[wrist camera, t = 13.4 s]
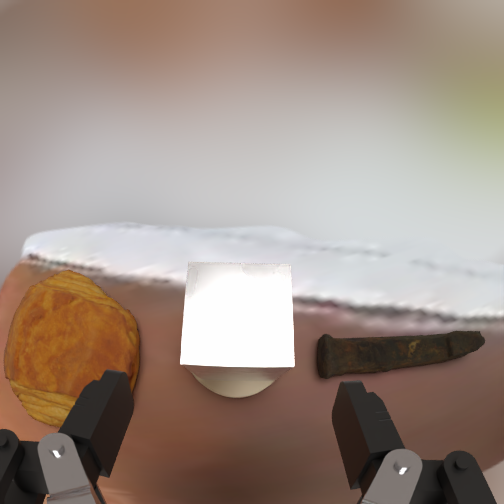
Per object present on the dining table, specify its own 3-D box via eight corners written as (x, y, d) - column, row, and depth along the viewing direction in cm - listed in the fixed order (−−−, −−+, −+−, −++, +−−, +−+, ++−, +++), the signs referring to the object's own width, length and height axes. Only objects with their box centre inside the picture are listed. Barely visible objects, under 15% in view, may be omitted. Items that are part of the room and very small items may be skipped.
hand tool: (313, 380, 27) (326, 375, 23) (314, 339, 29) (327, 327, 25) (469, 371, 27) (495, 363, 23) (466, 337, 29) (491, 326, 25)
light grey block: (272, 313, 25) (290, 264, 17) (273, 381, 22) (294, 366, 14) (204, 311, 25) (188, 261, 17) (201, 379, 22) (180, 363, 14)
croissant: (24, 395, 26) (-23, 395, 18) (55, 268, 31) (13, 242, 23) (132, 449, 24) (96, 470, 17) (167, 300, 30) (138, 278, 22)
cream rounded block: (296, 343, 29) (315, 321, 22) (248, 414, 25) (252, 418, 18) (225, 298, 30) (221, 262, 23) (175, 364, 27) (154, 349, 20)
